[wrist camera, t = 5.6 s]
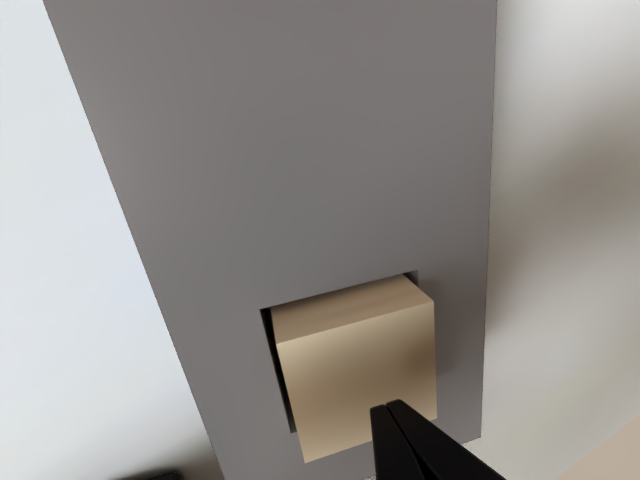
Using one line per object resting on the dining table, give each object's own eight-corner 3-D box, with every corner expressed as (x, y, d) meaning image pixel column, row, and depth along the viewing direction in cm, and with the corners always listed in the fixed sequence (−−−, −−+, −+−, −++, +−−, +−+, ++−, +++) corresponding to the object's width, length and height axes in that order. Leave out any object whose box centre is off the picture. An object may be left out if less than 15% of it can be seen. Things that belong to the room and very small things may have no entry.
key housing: (419, 358, 18) (480, 437, 13) (242, 412, 16) (241, 523, 12) (384, -320, 9) (525, -781, 5) (0, -350, 8) (-380, -1111, 3)
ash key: (385, 342, 14) (436, 418, 10) (288, 371, 13) (305, 463, 9) (376, 251, 12) (433, 301, 9) (265, 278, 12) (276, 343, 8)
